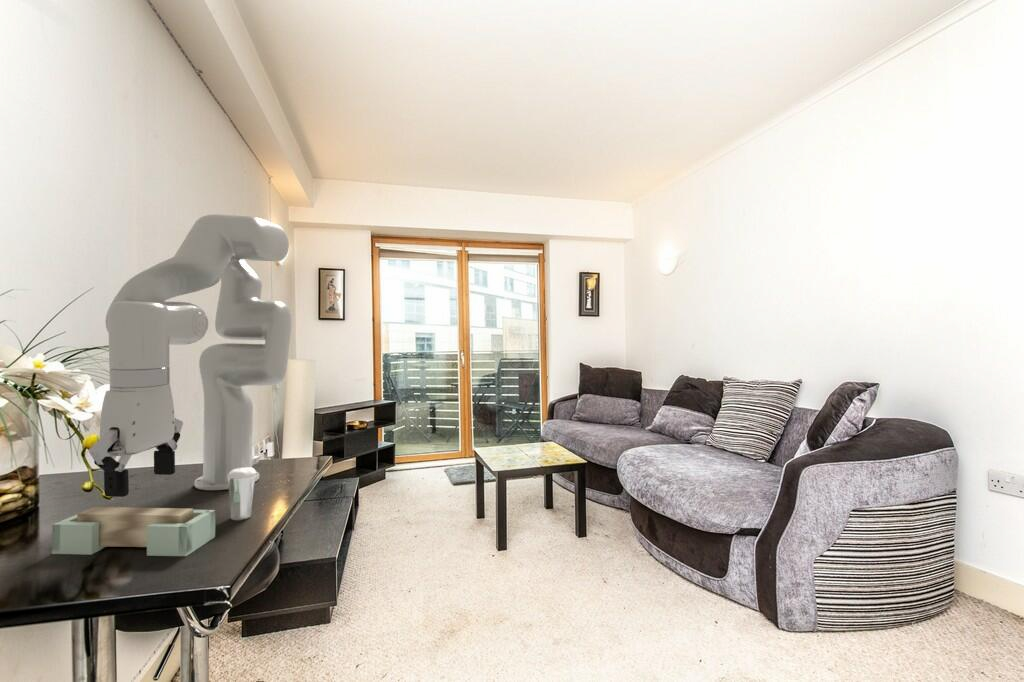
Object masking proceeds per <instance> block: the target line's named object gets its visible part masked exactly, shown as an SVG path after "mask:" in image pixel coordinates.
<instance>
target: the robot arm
mask: <svg viewBox="0 0 1024 682" xmlns="http://www.w3.org/2000/svg"><path fill="white" fill-rule="evenodd" d="M289 244H290V243H289V238H288V235H287V233H286V231H285V230H284V229H283V227H281V226H280V225H278V224H275V223H273V222H272V221H271V222H270V221H268V220H266V219H263V218H260V217H255V216H250V215H249V216H248V215H234V214H233V215H229V214H206V215H203V216H201V217H200V218H198V219H197V220H196V221H195V222H194V224H193V225H192V227H191V229H190V230H189V232H188V233H187V235H186V236H185V238H184V240H183V241H182V243H181V244H180V246H179V248H178V249H177V251H176V253H175V254H174V256H172V257H170V258H167V259H165V260H163V261H161V262H158V263H157V264H155V265H153V266H151V267H149V268H147V269H145V270H142V271H141V272H139V273H137V274H135V275H134V276H133V277H131V278H129V279H128V280H127V281H125V283H124V284H123V285H122V287H121V288H120V289H119V291H118V292H117V294H116V295H115V296H114V298H113V300H111V301H112V302H111V303H110V305H109V306H108V310H107V311H106V314H105V320H104V321H105V329H106V331H107V333H108V367H109V368H108V369H109V370H108V371H109V390H106V391H105V393H104V397H103V402H102V404H101V405H102V406H101V413H100V422H99V439H98V440H97V441H96V442H95V443H93V444H92V445H91V446H90V447H89V448H88V452H89V454H90V455H91V458H92V460H94V461H93V463H94V464H95V465H96V466H97V468H99V471H100V472H103V478H104V479H103V481H104V482H103V483H104V484H103V486H104V487H103V489H104V491H103V492H104V493H103V494H104V496H105V497H113V498H115V497H117V498H119V497H121V498H124V497H126V496H129V492H130V491H129V489H130V488H129V486H130V485H129V469H126V467H127V464H128V462H129V460H130V459H131V456H132V455H137V454H140V453H143V452H145V451H148V450H151V449H153V448H155V449H156V450H154V451H153V473H154V475H163V476H164V475H165V476H166V475H167V476H169V475H171V476H173V475H174V474H175V473H176V451H177V449H178V442H179V439H180V438H181V431H182V429H183V428H182V427H183V424H184V422H183V421H182V420H180V419H178V418H175V406H174V398H173V393H172V388H171V382H170V381H171V379H170V377H171V376H170V375H171V374H170V366H171V365H170V345H178V346H179V345H180V346H181V345H183V346H186V345H192V344H194V343H197V342H199V341H200V340H201V339H202V338H204V337H205V336H206V334H207V332H208V328H209V319H208V318H209V317H208V316H207V314H206V312H205V311H204V310H203V308H201V307H200V306H198V305H196V304H193V303H192V302H185V301H184V302H183V301H167V300H170V299H172V298H173V299H174V298H175V297H178V296H179V297H180V296H184V295H188V294H193V293H196V292H200V291H202V290H203V291H204V290H205V289H206V290H207V289H208V288H211V287H213V286H216V285H217V284H219V283H220V288H219V295H218V302H217V307H216V311H215V319H214V320H215V321H214V326H215V327H214V328H215V331H216V333H217V335H218V336H220V337H221V338H224V339H229V340H235V341H236V340H237V341H238V340H239V341H241V340H242V341H264V342H265V343H235V342H234V343H228V342H227V343H217V344H213V345H212V344H211V345H210V346H208V347H206V348H205V349H204V350H203V351H202V352H201V354H200V356H199V361H198V363H199V364H198V365H199V367H198V368H199V372H200V373H199V374H200V377H201V378H200V379H201V382H202V389H203V452H202V453H203V455H202V457H203V459H202V460H203V461H202V462H203V463H202V465H203V467H202V475H201V476H199V477H197V478H196V479H195V480H194V487H195V488H196V489H198V490H202V491H224V490H229V486H228V474H229V473H230V472H231V471H232V470H233V469H238V468H242V459H245V467H244V468H246V467H249V468H250V467H251V468H253V466H254V465H256V464H258V463H259V462H260V456H258V455H255V454H254V455H253V422H254V421H253V418H254V417H253V415H254V412H253V411H254V409H253V407H254V406H253V402H252V399H251V397H250V395H249V394H248V393H247V391H246V390H245V389H244V387H245V386H259V387H261V386H275V385H279V384H280V383H282V382H283V380H284V379H285V376H286V373H287V367H288V360H289V352H290V344H291V334H292V323H293V322H292V314H291V311H290V308H289V307H288V306H287V304H286V303H284V302H282V301H279V300H271V299H270V300H269V299H268V300H266V299H265V300H264V299H261V298H262V297H261V296H262V290H263V289H262V288H263V283H262V279H260V277H259V275H258V274H257V272H256V271H255V270H254V269H253V268H252V267H251V266H250V265H249V264H248V263H247V261H252V262H253V261H255V262H257V261H258V262H259V261H260V262H281V261H283V260H284V259H285V258H286V257H287V255H288V252H289V246H290V245H289ZM117 457H119V459H118V460H116V458H117ZM255 471H256V476H255V483H256V482H257V481H258V480H260V472H258V471H257V470H255Z"/></svg>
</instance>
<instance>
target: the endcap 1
mask: <svg viewBox="0 0 1024 682" xmlns="http://www.w3.org/2000/svg"><path fill="white" fill-rule="evenodd" d="M51 528H52V530H51V531H52V533H51V534H52V535H51V536H52V537H51V538H52V539H51V542H52V543H51V548H52V549H51V553H52V555H93V554H95V553H97V552H99V551H101V550H103V549H105V548H107V547H108V546H99V522H77V514H74V515H72V516H70V517H67V518H65V519H63V520H60V521H58V522H55V523H53V524H52V527H51Z"/></svg>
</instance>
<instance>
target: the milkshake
mask: <svg viewBox="0 0 1024 682" xmlns="http://www.w3.org/2000/svg"><path fill="white" fill-rule="evenodd" d="M244 467H245V459H242V468H238V469H233V470H232V471H231V472H230V473H229V474H228V486H229V489H228V492H229V493H228V495H229V507H230V509H229V511H230V519H231V520H233V521H243V520H247V519H248V518H251V516H252V507H253V497H254V489H255V483H256V482H255V476H256V471H257V470H256V469H255V468H253V467H252V468H251V467H250V468H249V467H246V468H244Z"/></svg>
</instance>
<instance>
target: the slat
mask: <svg viewBox="0 0 1024 682" xmlns="http://www.w3.org/2000/svg"><path fill="white" fill-rule="evenodd" d="M193 510H194V508H188V507H187V508H185V507H184V508H183V507H182V508H180V507H179V508H178V507H176V508H175V507H132V506H131V507H126V506H125V507H122V506H121V507H120V506H119V507H118V506H117V507H116V506H94V507H91V508H89V509H85V510H83V511H80V512H79V513H77V514H76V515H77V522H99V546H107V547H120V548H121V547H124V548H127V547H128V548H129V547H131V548H133V547H135V548H147V526H148V525H150V524H152V523H183V524H184V523H186V522H188V521H190V520H191V519H193Z"/></svg>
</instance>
